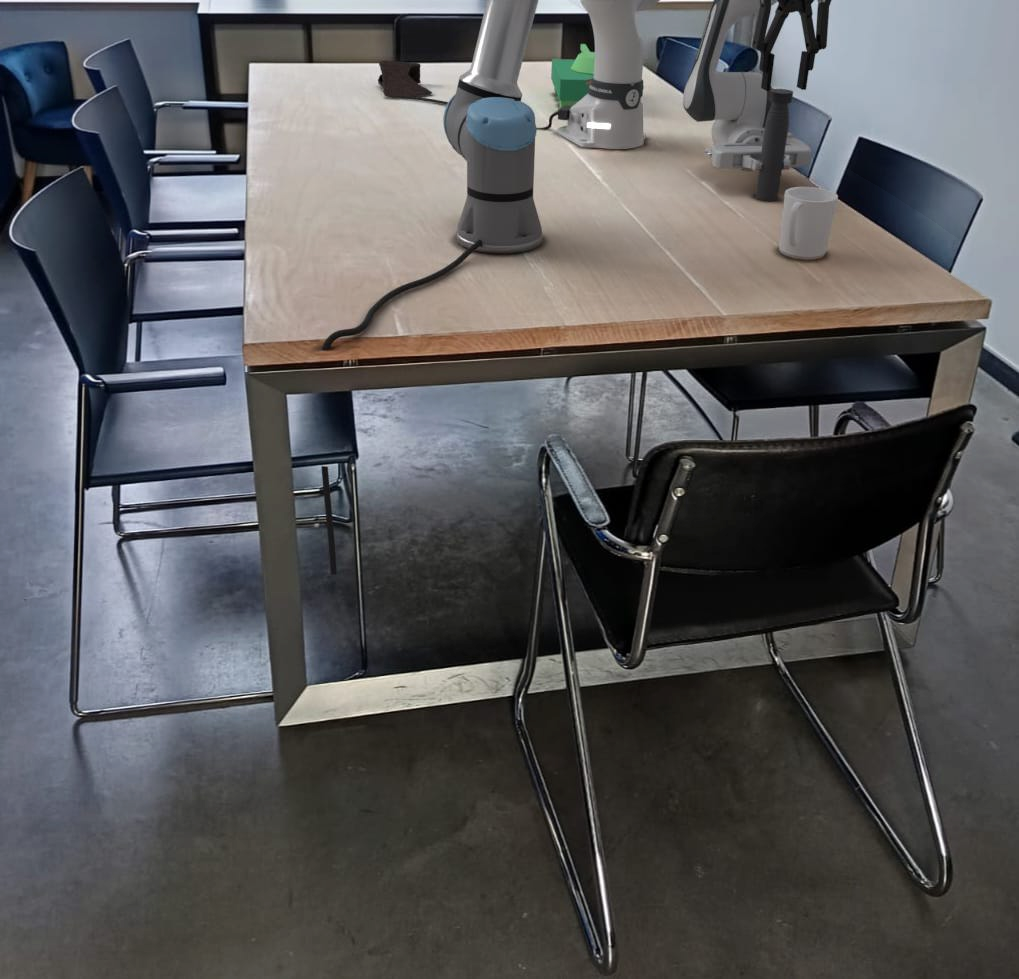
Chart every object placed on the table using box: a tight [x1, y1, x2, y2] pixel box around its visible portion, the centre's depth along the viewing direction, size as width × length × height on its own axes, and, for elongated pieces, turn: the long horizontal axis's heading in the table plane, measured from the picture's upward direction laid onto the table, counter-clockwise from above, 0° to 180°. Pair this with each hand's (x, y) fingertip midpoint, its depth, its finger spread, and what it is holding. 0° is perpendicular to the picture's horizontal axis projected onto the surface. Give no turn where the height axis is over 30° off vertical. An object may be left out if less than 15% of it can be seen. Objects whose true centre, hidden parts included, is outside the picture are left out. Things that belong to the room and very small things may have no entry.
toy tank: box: [550, 43, 595, 109], centre depth 292 cm, size 18×12×35 cm
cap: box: [769, 88, 794, 104], centre depth 211 cm, size 4×4×2 cm
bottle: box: [754, 102, 790, 202], centre depth 216 cm, size 4×4×20 cm
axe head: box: [377, 59, 433, 99], centre depth 299 cm, size 18×8×15 cm
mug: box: [778, 186, 839, 261], centre depth 190 cm, size 11×9×10 cm
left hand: (783, 88), depth 210 cm, fingers open, 7 cm apart
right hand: (773, 166), depth 217 cm, fingers closed on bottle, 4 cm apart
